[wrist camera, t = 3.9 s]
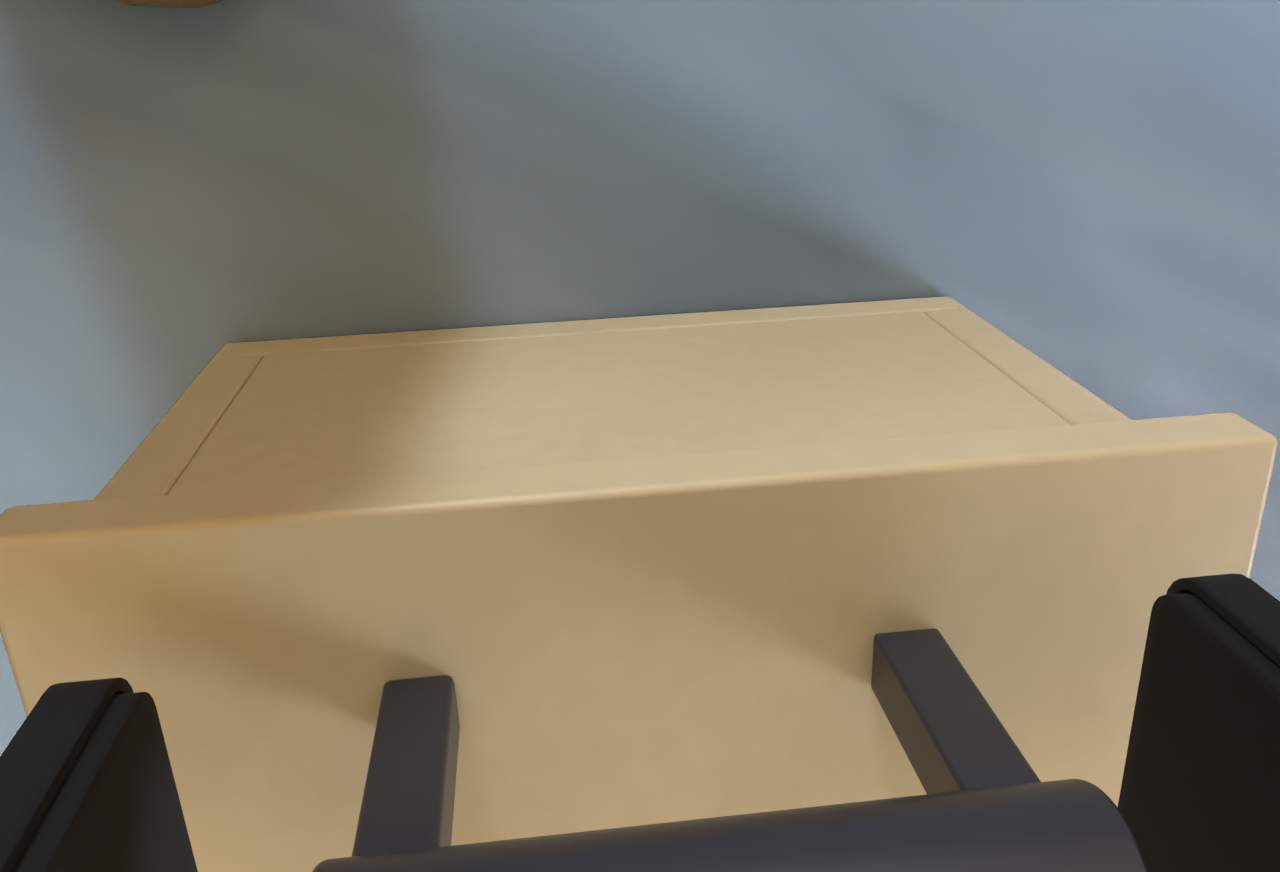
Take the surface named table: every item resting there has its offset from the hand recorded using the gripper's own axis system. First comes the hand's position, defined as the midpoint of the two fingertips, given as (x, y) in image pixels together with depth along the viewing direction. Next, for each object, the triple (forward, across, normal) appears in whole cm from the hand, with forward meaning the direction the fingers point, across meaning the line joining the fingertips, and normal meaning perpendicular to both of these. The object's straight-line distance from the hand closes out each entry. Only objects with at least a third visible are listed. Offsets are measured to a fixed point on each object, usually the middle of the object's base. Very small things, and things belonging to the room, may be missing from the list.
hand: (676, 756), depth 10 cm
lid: (+2, 0, +6) cm, 6 cm away
